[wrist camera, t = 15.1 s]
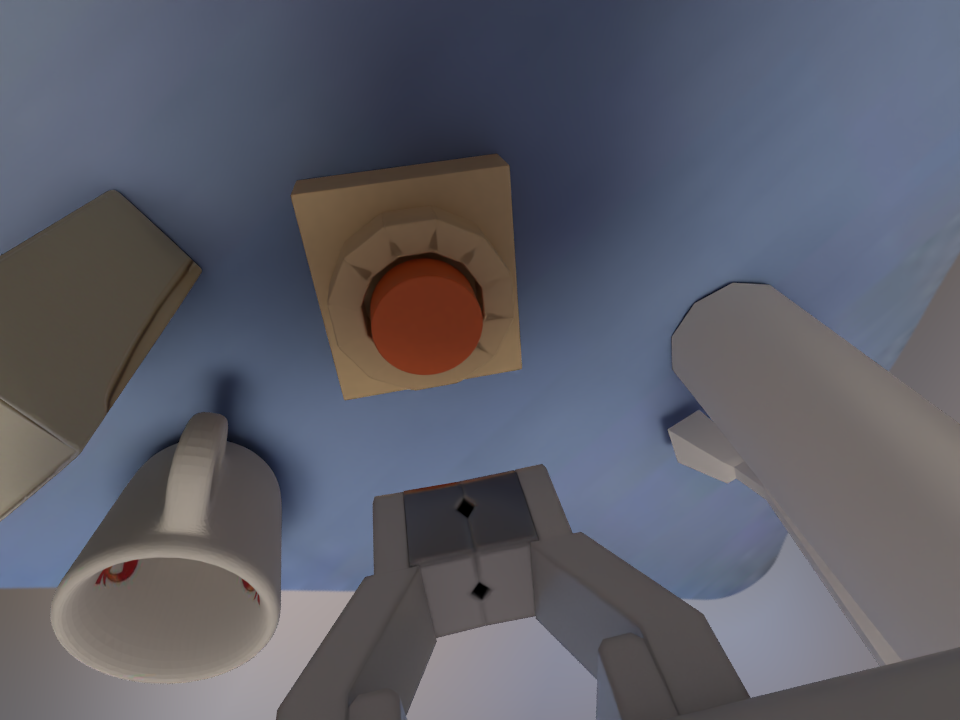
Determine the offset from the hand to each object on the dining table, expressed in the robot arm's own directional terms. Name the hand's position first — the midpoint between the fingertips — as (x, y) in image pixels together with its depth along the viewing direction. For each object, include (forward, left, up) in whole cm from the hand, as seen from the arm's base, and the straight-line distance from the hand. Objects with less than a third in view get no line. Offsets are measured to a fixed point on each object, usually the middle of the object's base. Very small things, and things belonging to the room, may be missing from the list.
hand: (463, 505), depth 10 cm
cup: (+10, -11, -16) cm, 22 cm away
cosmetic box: (0, -12, -16) cm, 20 cm away
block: (+2, 0, -16) cm, 16 cm away
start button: (+2, 0, -13) cm, 13 cm away
